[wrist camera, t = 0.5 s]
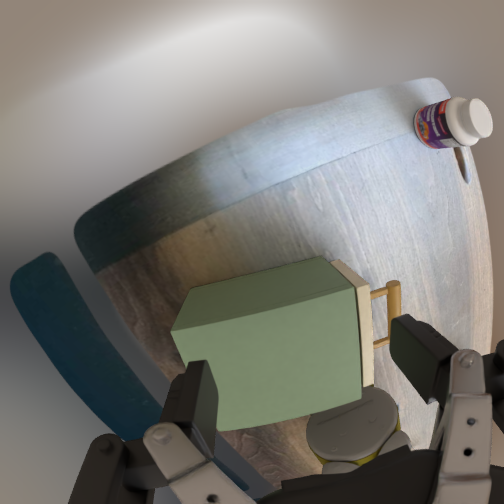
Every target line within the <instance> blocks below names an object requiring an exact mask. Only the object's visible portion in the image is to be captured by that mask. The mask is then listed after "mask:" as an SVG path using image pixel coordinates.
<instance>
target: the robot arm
mask: <svg viewBox="0 0 504 504" xmlns="http://www.w3.org/2000/svg"><path fill="white" fill-rule="evenodd" d="M389 348H390V354H391V357H392V359H393V361H394V362H395V363H396V365H397V366H398V367H399V368H400V370H401V371H402V372H403V374H404V375H405V376H406V377H407V379H408V380H409V381H410V383H411V384H412V385H413V387H414V388H415V389H416V390H417V392H418V393H419V394H420V396H421V397H422V398H423V400H424V401H425V402H426V404H427V405H428V404H430V403H432V402H434V401H436V400H437V401H438V403H439V405H438V408H437V413H436V419H435V425H434V430H433V435H432V439H431V443H430V447H429V449H420V450H412V451H411V450H410V448H409V446H408V445H407V444H406V445H403V446H401V447H399V448H396V449H394V450H391V451H389V452H386V453H384V454H381V455H379V456H377V457H375V458H374V459H372V460H371V461H369V462H367V463H365V464H364V465H362V466H360V467H358V468H357V469H355V470H353V471H351V472H347V473H336V474H317V475H310V476H305V477H300V478H295V479H289V480H283V481H281V485H282V489H279V490H277V491H274V492H272V493H270V494H268V495H266V496H264V497H263V498H261V499H260V500H258V501H257V502H255V501H253V500H252V499H251V498H250V497H249V496H248V495H246V494H245V493H244V492H243V491H242V490H241V489H240V488H239V487H238V486H236V485H235V484H234V483H233V482H232V481H231V480H230V479H229V478H228V477H227V476H226V475H225V474H224V473H223V472H222V471H221V470H220V469H219V468H218V467H217V466H216V465H215V464H214V463H213V462H212V461H211V460H209V459H208V460H207V459H206V458H214V446H215V435H216V424H217V413H218V403H219V394H218V389H217V385H216V383H215V380H214V377H213V374H212V371H211V369H210V366H209V363H208V361H207V360H198V361H189V362H188V365H187V369H186V372H185V373H184V374H178V376H177V377H176V378H175V379H174V380H173V381H172V383H171V387H170V390H169V392H168V395H167V399H166V402H165V405H164V408H163V411H162V414H161V418H160V421H159V423H158V424H155V425H153V426H151V427H150V428H149V429H148V430H147V431H146V432H145V434H144V437H143V438H140V439H136V440H131V441H125V442H123V441H122V440H121V438H120V437H119V436H117V435H115V434H103V435H101V436H99V437H97V438H96V439H95V440H93V442H92V443H91V445H90V448H89V450H88V452H87V455H86V457H85V460H84V462H83V465H82V467H81V470H80V472H79V475H78V477H77V480H76V483H75V485H74V488H73V491H72V494H71V496H70V499H69V502H68V504H153V499H154V493H155V488H159V487H164V486H170V488H171V489H172V490H173V491H174V493H175V494H176V496H177V497H178V498H179V500H180V501H181V502H182V504H504V467H500V466H495V465H491V464H490V457H491V444H492V419H493V420H494V421H495V423H496V424H497V426H498V427H499V428H500V430H501V431H502V432H503V434H504V340H501V341H500V342H499V343H498V344H497V347H496V350H495V353H491V354H487V355H483V356H481V355H480V354H479V353H478V352H476V351H474V350H471V349H463V350H459V349H457V348H456V347H455V346H454V345H453V344H452V343H451V342H449V341H448V340H447V339H446V338H445V337H444V336H441V334H440V333H439V332H438V331H436V330H435V329H434V328H433V327H432V326H431V325H429V324H427V323H424V322H422V321H416V320H415V319H414V318H413V317H412V316H410V315H409V314H404V315H401V316H398V317H395V318H393V319H392V320H391V328H390V347H389Z"/></svg>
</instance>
